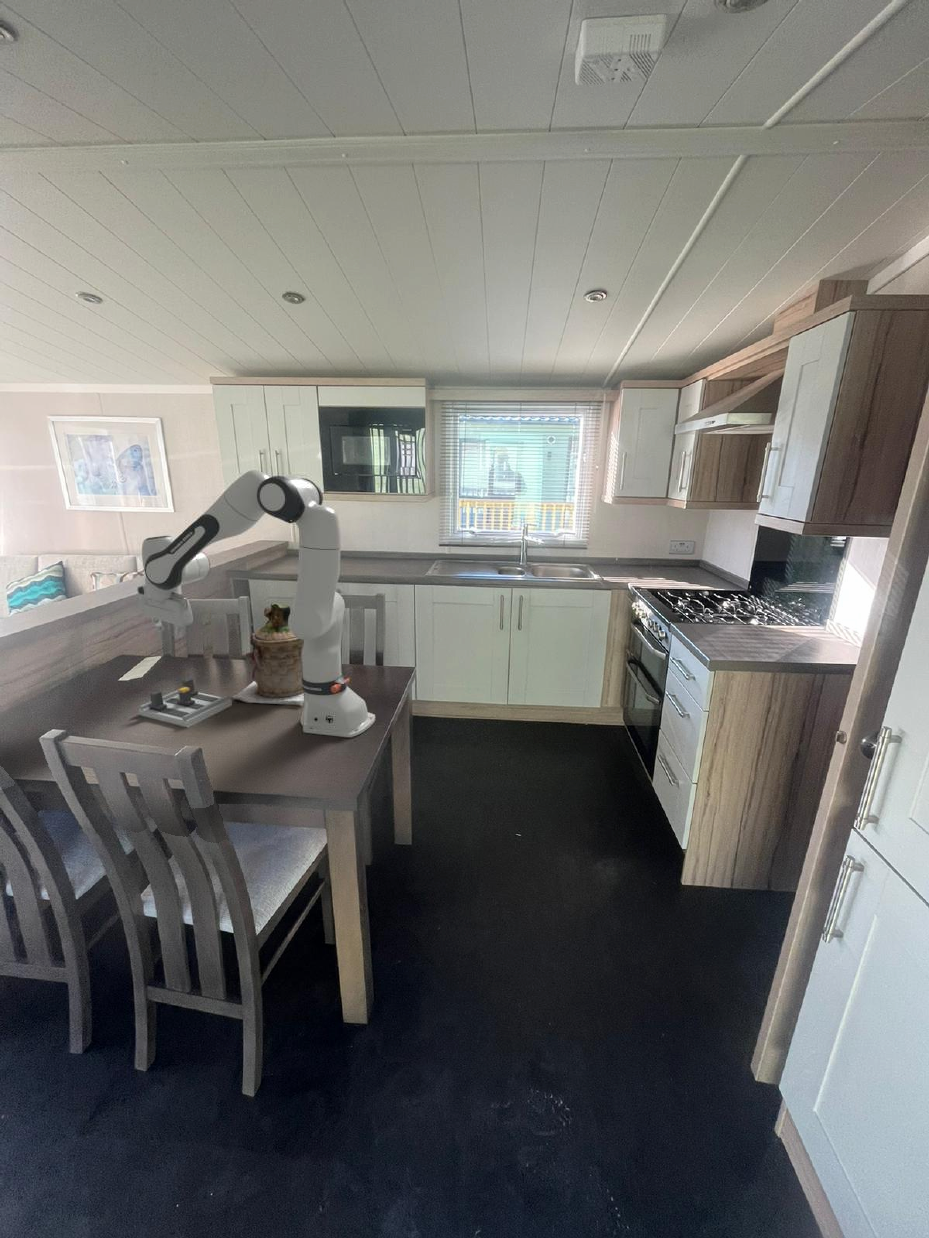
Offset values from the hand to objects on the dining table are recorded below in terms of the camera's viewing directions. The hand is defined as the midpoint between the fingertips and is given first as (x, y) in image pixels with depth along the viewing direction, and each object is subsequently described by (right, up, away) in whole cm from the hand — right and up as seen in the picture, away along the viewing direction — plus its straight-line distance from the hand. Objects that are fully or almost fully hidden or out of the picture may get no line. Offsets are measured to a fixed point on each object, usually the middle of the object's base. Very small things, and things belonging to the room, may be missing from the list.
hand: (169, 634), depth 145 cm
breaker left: (-3, -22, -1) cm, 23 cm away
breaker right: (+1, -20, +9) cm, 22 cm away
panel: (+3, -24, +3) cm, 24 cm away
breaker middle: (+3, -22, +3) cm, 22 cm away
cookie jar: (+28, -20, +20) cm, 40 cm away
